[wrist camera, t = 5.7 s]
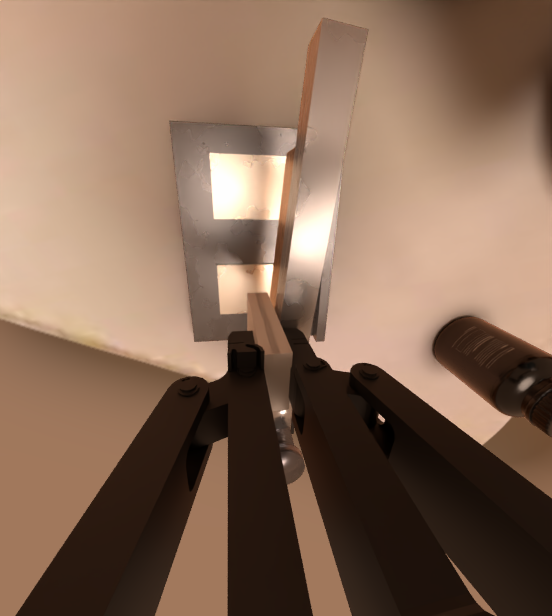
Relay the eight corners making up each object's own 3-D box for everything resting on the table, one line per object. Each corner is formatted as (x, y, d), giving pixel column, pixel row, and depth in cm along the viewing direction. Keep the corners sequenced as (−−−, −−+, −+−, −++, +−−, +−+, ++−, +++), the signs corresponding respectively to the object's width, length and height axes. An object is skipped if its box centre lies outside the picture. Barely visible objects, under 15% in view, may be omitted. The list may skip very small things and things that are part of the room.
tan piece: (283, 89, 15) (322, 10, 8) (314, 95, 15) (375, 25, 9) (255, 357, 21) (264, 429, 15) (277, 358, 22) (295, 428, 15)
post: (239, 322, 27) (247, 450, 14) (275, 320, 27) (316, 442, 14) (240, 353, 28) (248, 496, 15) (274, 350, 29) (311, 487, 15)
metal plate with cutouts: (175, 127, 20) (165, 116, 17) (331, 136, 21) (347, 127, 19) (197, 331, 26) (192, 348, 24) (314, 325, 28) (324, 341, 25)
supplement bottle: (430, 370, 33) (526, 457, 22) (433, 322, 30) (545, 396, 19) (481, 356, 34) (601, 436, 23) (489, 308, 31) (629, 372, 20)
